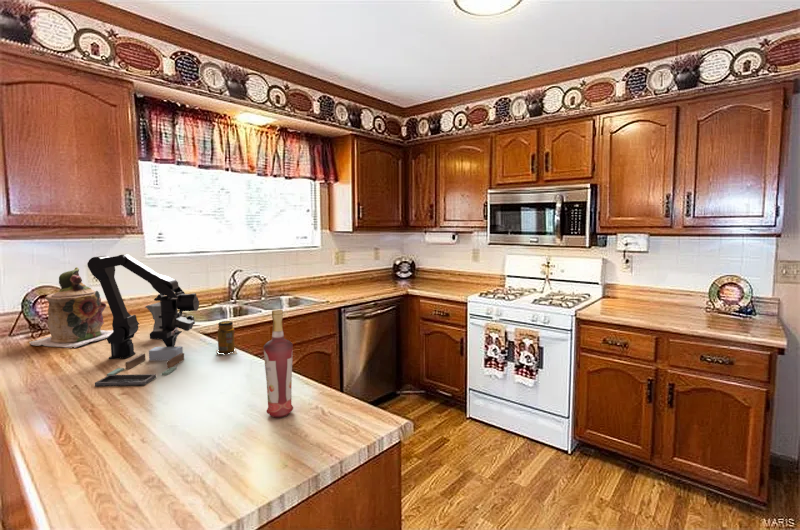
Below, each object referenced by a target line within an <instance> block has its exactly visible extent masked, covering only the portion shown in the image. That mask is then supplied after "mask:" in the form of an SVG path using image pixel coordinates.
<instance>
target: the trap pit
mask: <svg viewBox="0 0 800 530" xmlns="http://www.w3.org/2000/svg"><path fill="white" fill-rule="evenodd" d="M155 379H157V375H156V374H154V373H153V374H152V373H151V374H148V373H146V374H144V373H143V374H115V375H108V376H107V375H106V376H105V377H103V378H101V379H99V380H97V381H96V382H94V388H95V387H144V386H146V385H148V384H149V383H150V382H152V381H154V380H155Z"/></svg>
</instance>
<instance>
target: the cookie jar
mask: <svg viewBox="0 0 800 530" xmlns="http://www.w3.org/2000/svg"><path fill="white" fill-rule="evenodd" d="M79 272H80V269H79V267H75V268H74V269H73V270H68V271H65V272H63V273H61V274H59V277H58V284H59V287H60V289H59V291H57V292H55V293H49V294H48V295H46V296H45V297H44V298H45V300H46V301H48V310H47V314H48V315H47V317H48V318H47V319H48V320H47V327H48V331H49V333H50V336H48V337H43V338H40V339H35V340H32V341H29V342H28V343H29V345H30V346H37V347H38V346H39V347H40V346H44V347H50V348H51V347H52V348H53V347H54V348H66V349H67V348H69V349H76V348H78V347H80V346H84V345H87V344H89V343H91V342H96V341H98V342H99V341H101V340H104V339H107V338H108V337H109V336H110V335H111V334H112V333H113V329H112V330H109V329H108V330H105V329H102V326H103V325H104V316H103V312H104V311H105V308H107V304H106V303H105V302H102V298H101V295H100V292H99V291H98V290H94V289H92V288H91V287H90V286H86V284H84V283H83V279H82V277H81V276H80V274H79ZM72 347H74V348H72Z"/></svg>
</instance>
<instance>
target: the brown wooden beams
mask: <svg viewBox="0 0 800 530" xmlns="http://www.w3.org/2000/svg"><path fill="white" fill-rule="evenodd" d="M184 360H185V353H184V352H183V353H180V354H178V355H177V356H175V357H173V358H172V359H170V360H166V370H167V369H169V368H170V367H176V366H177V365H178V364H180V363H181V362H183V361H184ZM144 361H146V354H145V353H140V354H139V355H137V356H135V357H133V358H131V359H128V360H127V361H125V362H124V363H125V370H130V369H132V368H134V367H136V366H137V365H139V364H141V363H143V362H144Z"/></svg>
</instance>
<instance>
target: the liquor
mask: <svg viewBox="0 0 800 530" xmlns="http://www.w3.org/2000/svg"><path fill="white" fill-rule="evenodd" d="M283 313H284V312H283V309H282V308H281V309H279V308H278V309H272V310H271V319H272V322H273V323H272V335H271V340H269V341H267V342H265V344H264V345H263V355H264V369H265V370H264V371H265V379H266V381H265V382H266V393H267V394H266V395H267V409H266V413H267V414H268V415H269V416H271V417H272V418H275V419H280V418H284V417H287V416H288V415H290V413H291V412H292V411H293V410H294V406H293V404H292V385H293V384H292V382H293V379H292V377H293V342H292V341H290V340H288V339H286V338H285V335H284V329H283V327H284V326H283V318H284V314H283Z"/></svg>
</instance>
